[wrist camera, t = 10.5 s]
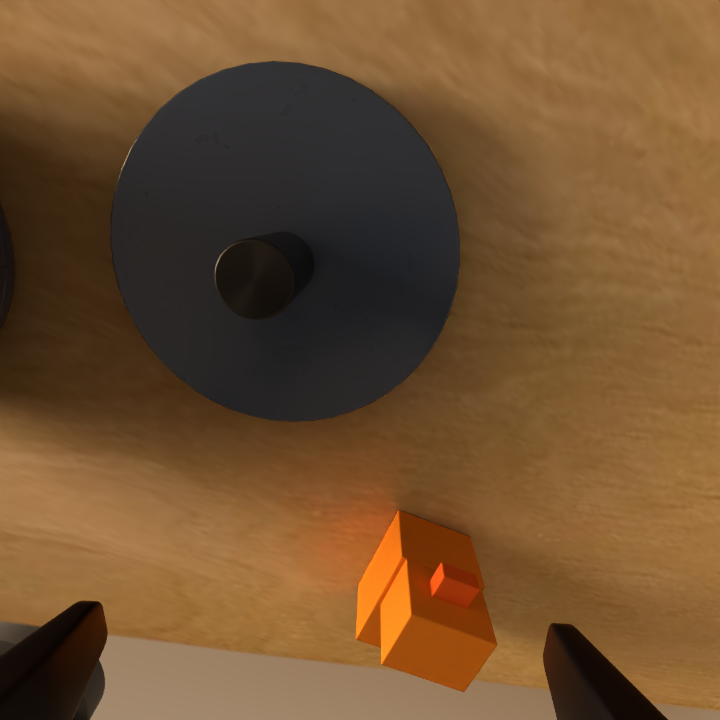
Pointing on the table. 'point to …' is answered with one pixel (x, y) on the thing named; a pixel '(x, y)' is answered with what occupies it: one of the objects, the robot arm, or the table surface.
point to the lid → (285, 241)
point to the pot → (5, 268)
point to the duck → (426, 603)
